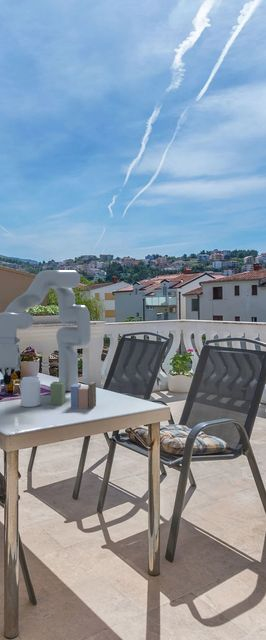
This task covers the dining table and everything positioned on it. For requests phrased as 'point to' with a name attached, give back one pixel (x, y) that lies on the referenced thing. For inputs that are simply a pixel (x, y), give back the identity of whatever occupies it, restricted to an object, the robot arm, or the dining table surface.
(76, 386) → the blue book
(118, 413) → the dining table surface
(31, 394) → the beverage can
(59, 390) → the olive book
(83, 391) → the terracotta book
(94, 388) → the walnut bookend
